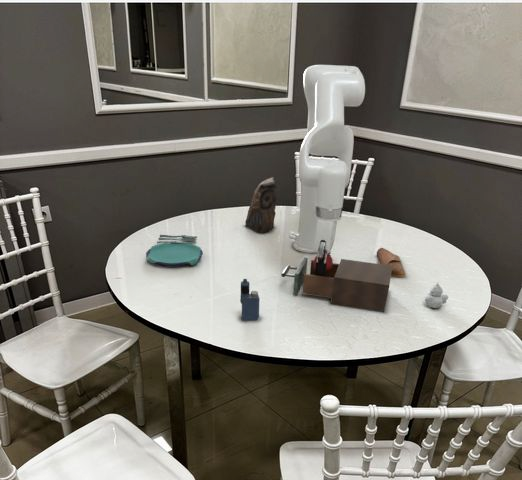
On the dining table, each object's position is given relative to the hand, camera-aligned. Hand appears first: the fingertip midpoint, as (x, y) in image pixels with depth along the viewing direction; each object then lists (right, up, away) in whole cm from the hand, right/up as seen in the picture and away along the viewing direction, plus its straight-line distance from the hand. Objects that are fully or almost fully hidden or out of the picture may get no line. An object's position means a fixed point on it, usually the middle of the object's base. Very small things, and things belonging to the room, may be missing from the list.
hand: (322, 270), depth 144 cm
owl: (-19, +27, +53) cm, 63 cm away
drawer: (-2, -5, +4) cm, 7 cm away
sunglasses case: (+27, +5, +23) cm, 36 cm away
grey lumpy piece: (+34, -11, -2) cm, 36 cm away
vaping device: (-22, -16, -12) cm, 30 cm away
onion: (0, -1, +1) cm, 2 cm away
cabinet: (+12, -8, +1) cm, 14 cm away
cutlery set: (-50, +11, +27) cm, 58 cm away
